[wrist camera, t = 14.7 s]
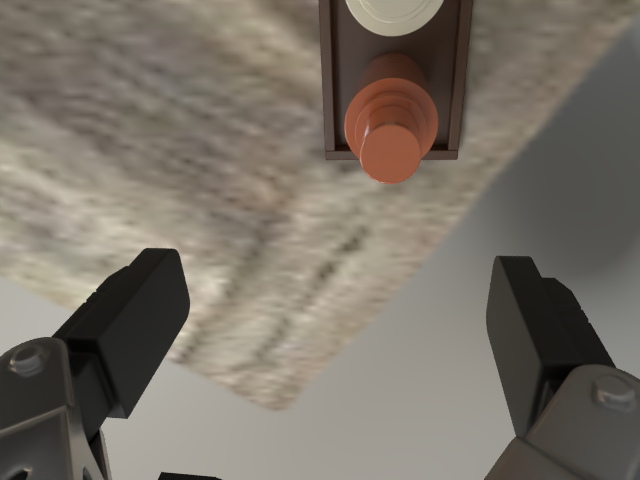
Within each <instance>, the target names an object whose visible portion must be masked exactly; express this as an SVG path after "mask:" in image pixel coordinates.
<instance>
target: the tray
mask: <svg viewBox="0 0 640 480" xmlns="http://www.w3.org/2000/svg"><path fill="white" fill-rule="evenodd" d="M472 5H473V0H444V1H443V3H442V5H441V7H440V8H439V10H438V11H437V13H436V14H435V15H434V16H433V17H432V19H430V20H429V21H428V22H427V23H426V24H425V25H423V26H422V27H421V28H419V29H417V30H416V31H414V32H411V33H409V34H405V35H401V36H383V35H379V34H376V33H373V32H371V31H369V30H368V29H366V28H365V27H363V26H362V25H361V24H360V23H359V22H358V21H357V20H356V19H355V18H354V16H353V15H352V13H351V12H350V10H349V8H348V6H347V4H346V1H345V0H319V21H320V43H321V65H322V88H323V110H324V133H325V150H326V151H325V154H326V160H359V159H358V158H357V156H356V155H355V154H354V153H353V152H352V150H351V149H350V147H349V145H348V143H347V140H346V136H345V130H344V121H345V115H346V112H347V109H348V106H349V103H350V100H351V98H352V95H353V92H354V89H355V87H356V84H357V81H358V78H359V76H360V74H361V72H362V70H363V68H364V67H365V66H366V65H367V64H368V63H369V62H370V61H371V60H372V59H374V58H375V57H377V56H379V55H382V54H385V53H401V54H404V55H407V56H409V57H411V58H412V59H414V60H415V61H416V62H417V63H418V64H419V66H420V67H421V69H422V70H423V73H424V75H425V78H426V81H427V84H428V86H429V89H430V92H431V95H432V98H433V101H434V104H435V107H436V110H437V114H438V131H437V135H436V138H435V141H434V143H433V145H432V147H431V148H430V150H429V151H428V152H427V154H426V155H425V156H424V157H423V158H421V160H457V159H458V149H459V138H460V128H461V118H462V108H463V97H464V87H465V77H466V67H467V57H468V46H469V36H470V26H471V16H472Z"/></svg>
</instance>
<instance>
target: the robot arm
mask: <svg viewBox="0 0 640 480" xmlns="http://www.w3.org/2000/svg"><path fill="white" fill-rule="evenodd" d="M189 309H190V298H189V293H188V289H187V285H186V281H185V276H184V272H183V268H182V264H181V259H180V256H179V253H178V252H177V250H175V249H167V248H146V249H144V250H143V251H142V252H141V253H140V254H139V255H138V256H137V257H136V258H135V260H134V261H133V262H132V263H131V264H130V265H129V266H125V267H124V268H122V269H120V270H119V271H117V272H115V273H114V274H112V275H110V276H109V277H108V278H107V279H106V280H105V281H104V282H103V283H102V284H101V285H100V286H99V287H98V288H97V289H96V292H93V293H92V295H91V296H90V297H89V298H88V299H87V302H86V303H83V304H82V305H81V306H80V307H79V308H78V309H77V310H76V311H75V313H74V314H73V315H72V316H71V317H70V318H69V319H68V320H67V321H66V322H65V323H64V324H63V325H62V326H61V327H60V329H58V331H57V332H56V333H55V334H54V335H53V336H52V337H43V338H37V339H33V340H29V341H26V342H24V343H21V344H19V345H17V346H15V347H13V348H12V349H10V350H9V351H7V352H5V353H4V354H3V355H2V356H1V357H0V480H112V476H111V471H110V466H109V460H108V454H107V449H106V444H105V438H104V434H103V431H102V429H101V425H102V424H103V422H104V420H105V419H106V417H111V418H124V419H128V417H129V416H130V414H131V412H132V411H133V409H134V407H135V405H136V404H137V402H138V400H139V399H140V397H141V395H142V394H143V392H144V390H145V389H146V387H147V385H148V384H149V382H150V380H151V379H152V377H153V375H154V374H155V372H156V370H157V369H158V367H159V365H160V364H161V362H162V360H163V359H164V357H165V355H166V354H167V352H168V350H169V348H170V347H171V345H172V343H173V342H174V340H175V338H176V337H177V335H178V333H179V332H180V330H181V328H182V327H183V325H184V323H185V322H186V320H187V317H188V314H189ZM486 324H487V332H488V336H489V340H490V344H491V347H492V351H493V354H494V358H495V362H496V365H497V369H498V372H499V376H500V379H501V383H502V387H503V390H504V394H505V398H506V401H507V405H508V408H509V412H510V416H511V419H512V423H513V427H514V430H515V434H516V437H515V438H514V439H513V440H512V441H511V442H510V443H509V445H508V446H507V448H506V449H505V451H504V452H503V453H502V455H501V456H500V457H499V459H498V460H497V462H496V463H495V465H494V466H493V468H492V469H491V471H490V472H489V473H488V475H487V476H486V477H485V479H484V480H640V379H638V378H636V377H635V376H633V375H631V374H629V373H627V372H625V371H622V370H620V369H617V368H616V366H615V365H614V363H613V361H612V359H611V358H610V356H609V354H608V352H607V351H606V350H605V347H604V346H603V344H602V342H601V341H600V339H599V337H598V335H597V334H596V332H595V330H594V329H593V327H592V325H591V324H590V323H588V318H587V317H586V315H585V313H584V311H583V310H581V306H580V305H579V303H578V301H577V299H576V298H575V296H574V294H573V293H572V291H571V290H569V289H568V288H567V287H566V286H564V285H563V284H562V283H560V282H559V281H558V280H556V279H555V278H542V277H541V276H540V273H539V271H538V270H537V267H536V266H535V264H534V262H533V260H532V258H531V257H529V256H496V258H495V260H494V264H493V270H492V276H491V283H490V290H489V296H488V303H487V311H486ZM158 480H222V479H219V478H216V477H208V476H198V475H188V474H176V473H166V472H165V473H164V472H161V474H160V476H159V478H158Z"/></svg>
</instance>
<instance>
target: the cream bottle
mask: <svg viewBox="0 0 640 480" xmlns="http://www.w3.org/2000/svg"><path fill="white" fill-rule="evenodd" d="M345 1H346V4H347V6H348V8H349V10H350V12H351V13H352V15H353V16H354V18H355V19H356V20H357V21H358V22H359V23H360V24H361V25H362V26H363V27H365V28H366V29H368V30H369V31H371V32H373V33H376V34H379V35H383V36H401V35H405V34H409V33H411V32H414V31H416V30H417V29H419V28H421V27H422V26H423V25H425V24H426V23H427V22H428V21H429V20H430V19H432V17H433V16H434V15H435V14H436V13H437V11H438V10H439V8H440V7H441V5H442V3H443V1H444V0H345Z"/></svg>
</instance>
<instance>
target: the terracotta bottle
mask: <svg viewBox="0 0 640 480" xmlns="http://www.w3.org/2000/svg"><path fill="white" fill-rule="evenodd" d="M344 130H345V136H346V140H347V143H348V145H349V147H350V149H351V150H352V152H353V153H354V154H355V155H356V156H357V158H358V159H359V160H360V164H361V166H362V168H363V170H364V172H365V173H366V174H367V175H368V176H369V177H370V178H372V179H373V180H375V181H377V182H380V183H384V184H395V183H399V182H402V181H404V180H406V179H408V178H409V177H410V176H412V175H413V174H414V172H415V171H416V170H417V168H418V167H419V164H420V161H421V158H423V157H424V156H425V155H426V154H427V152H428V151H429V150H430V148H431V147H432V145H433V143H434V141H435V138H436V135H437V131H438V114H437V110H436V107H435V104H434V101H433V98H432V95H431V92H430V89H429V86H428V84H427V81H426V78H425V75H424V73H423V70H422V69H421V67H420V66H419V64H418V63H417V62H416V61H415V60H414V59H412V58H411V57H409V56H407V55H404V54H401V53H385V54H382V55H379V56H377V57H375V58H374V59H372V60H371V61H370V62H369V63H368V64H367V65H366V66H365V67H364V68H363V70H362V72H361V74H360V76H359V78H358V81H357V84H356V87H355V89H354V92H353V95H352V98H351V100H350V103H349V106H348V109H347V112H346V115H345V121H344Z"/></svg>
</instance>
